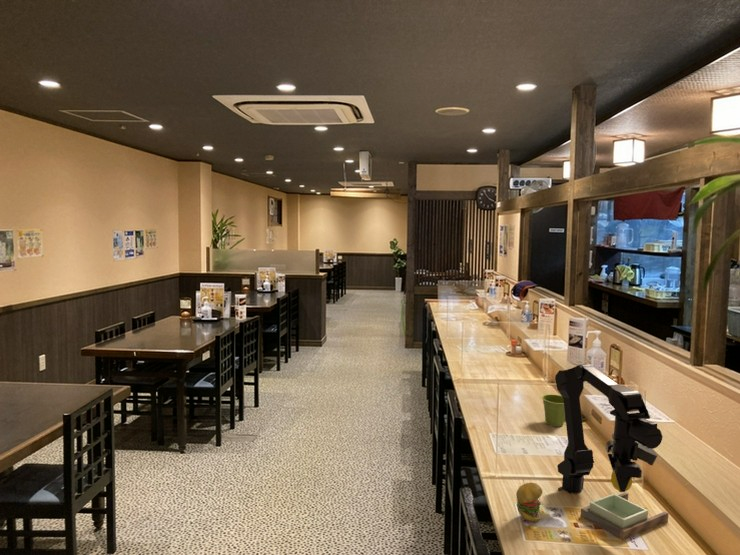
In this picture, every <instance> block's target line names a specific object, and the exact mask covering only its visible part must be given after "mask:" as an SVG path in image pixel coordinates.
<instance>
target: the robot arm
mask: <svg viewBox="0 0 740 555" xmlns="http://www.w3.org/2000/svg"><path fill="white" fill-rule="evenodd" d="M554 380H555V385H556V390H557V391H558V393H559V395H560V396H562V397H563V400H564V409H565V426H566V434H567V446H566V448H565V450H564V452H563V460H562V461H561V462H560V463H558V464H557V466H556V467H557V473H559V474H561V475H562V484H561V486H560V487H558V488H557V490H558V491H564V492H567V493H568V494H580V493H582V491H583V489H584V482H585V478H584V476H589V475H590V474H591V471H592V469H594V463H595V461H594V451H593V450H592V449H589V447H588V446H587V445H586V443H585V442H586V441H585V436H584V435H585V434H584V424H583V417H582V407H581V400H580V398H581V395H582V393H583V392H584V385H585V384H584V383H585V382H586V383H588V384H589V385H591V386H592V387H593V388H595V389H596V390H597V391H598V392H599V393H601V394H602V395H604V396H605V397H606V398H607V400H608V403H609V405H610V406H611V407H612V408H613V410H611V411H609V414H610V415H612V416H613V417H614V428H613V433H611V438H612V440H609V441H607V442H606V443H605V450H606V452H607V457H608V459H609V460H608V461H609V463H610V466H611V469H612V471H613V470H614V472H615V475H616V479H617V482H618V485H619V489H620V491H621V492H622V493H625V492H626V491H625V490H626V488H627V485H628V483H629V481H630V479H631V477H632V478H634V479H635V478H636V479H641V478H642V472H643V471H642V469H641V467H640V465H639V464H638V463H637V462H636V461H638V459H639V460H640V461H642V462H644V463H647V464H648V465H650V466H654V463H655V462H656V460H657V458H658V454H657V452H656V451H655V450H654V449H657V448H658V447H659V446H660V445H661V443H662V441H663V434H662V431H661V430H660V428H658V423H657V422H655V421H650V420H649V419H651V416H650V414H649V410H648V409H647V406H646V404H645V402H644V399H643V396H642V394H641V393H640V392H639V391H638V390H635V389H633V388H631V387H628V386H624V385H621V384H618V383H617V382H616V381H614V380H612V379H611V378H609V377H608V376H607V375H605V373H602V372H601V371H600V370H599V369H597V368H595V366H594V365H593V364H592V363H591V364H590V363H587V364H586V363H585V364H584V363H583V364H578V365H576V366H574V367H572V368H569V369H563V370H562V369H560V370H558V371H557V373H556V374H555V376H554Z"/></svg>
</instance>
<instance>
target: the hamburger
mask: <svg viewBox="0 0 740 555" xmlns="http://www.w3.org/2000/svg"><path fill="white" fill-rule="evenodd" d="M522 482H523V483H524V484H522V485H520V486H519V487H518V489H517V491H516V494H515V495H516V502H517V503H516V507H517V511H518V513H519V515H520V516H521V517H522V518H524V519H526V520H527V521H529V522H533V523H536V522H538V521H539V520H540V518H541V516H540V513H539V512H540V509H541V501H540V498H541V496H542V495H543V488H542V487H541V486H540V485H539V484H538V483H535V482H526V483H525V481H524V480H522Z"/></svg>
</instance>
